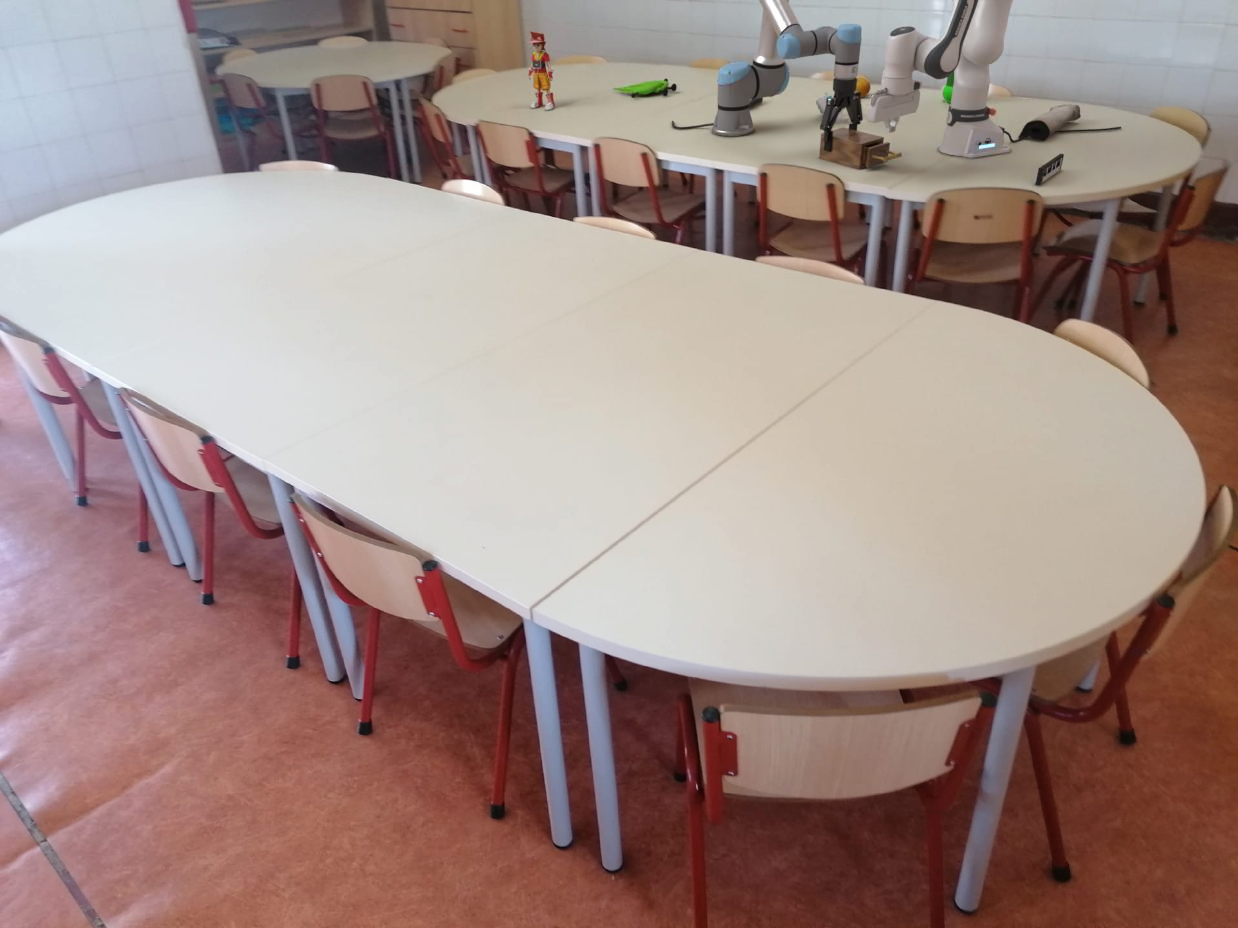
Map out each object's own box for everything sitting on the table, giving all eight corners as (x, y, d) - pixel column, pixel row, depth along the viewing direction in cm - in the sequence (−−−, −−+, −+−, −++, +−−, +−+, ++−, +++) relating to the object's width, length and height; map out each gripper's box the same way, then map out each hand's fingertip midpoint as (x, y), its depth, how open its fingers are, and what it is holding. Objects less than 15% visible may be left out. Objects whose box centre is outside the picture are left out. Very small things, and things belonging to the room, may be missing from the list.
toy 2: (686, 85, 398) (631, 84, 414) (685, 72, 395) (629, 72, 411) (651, 104, 381) (596, 103, 397) (650, 92, 378) (594, 91, 394)
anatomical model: (811, 92, 345) (837, 85, 344) (814, 119, 351) (839, 112, 350) (821, 101, 332) (848, 94, 332) (824, 129, 338) (850, 122, 337)
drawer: (902, 165, 289) (904, 146, 286) (882, 172, 285) (885, 152, 281) (849, 151, 305) (851, 133, 301) (830, 157, 300) (832, 138, 297)
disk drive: (747, 111, 360) (763, 102, 370) (747, 104, 359) (763, 95, 369) (724, 109, 365) (740, 100, 375) (724, 101, 363) (740, 93, 373)
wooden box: (881, 162, 296) (884, 137, 292) (859, 169, 291) (861, 144, 287) (840, 151, 308) (843, 127, 304) (819, 158, 304) (821, 133, 299)
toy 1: (525, 109, 381) (517, 32, 364) (534, 104, 388) (527, 28, 371) (550, 110, 377) (543, 32, 360) (559, 105, 384) (553, 28, 367)
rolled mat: (1047, 109, 327) (1072, 92, 319) (1061, 130, 327) (1086, 113, 319) (1014, 132, 309) (1039, 114, 301) (1028, 154, 310) (1054, 137, 302)
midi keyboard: (1039, 185, 269) (1043, 168, 266) (1035, 184, 270) (1038, 168, 267) (1060, 170, 279) (1064, 154, 277) (1056, 169, 280) (1060, 153, 277)
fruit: (843, 89, 366) (855, 71, 363) (846, 93, 374) (858, 75, 371) (860, 101, 365) (872, 82, 362) (862, 104, 373) (874, 86, 369)
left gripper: (828, 85, 281) (823, 157, 294) (878, 73, 292) (871, 142, 304) (811, 82, 286) (806, 152, 299) (861, 70, 297) (854, 138, 309)
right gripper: (880, 93, 268) (875, 140, 276) (925, 82, 277) (918, 128, 285) (864, 90, 272) (859, 136, 280) (909, 79, 281) (903, 124, 289)
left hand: (839, 147), depth 302 cm, fingers closed on wooden box, 11 cm apart
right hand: (889, 132), depth 283 cm, fingers closed
